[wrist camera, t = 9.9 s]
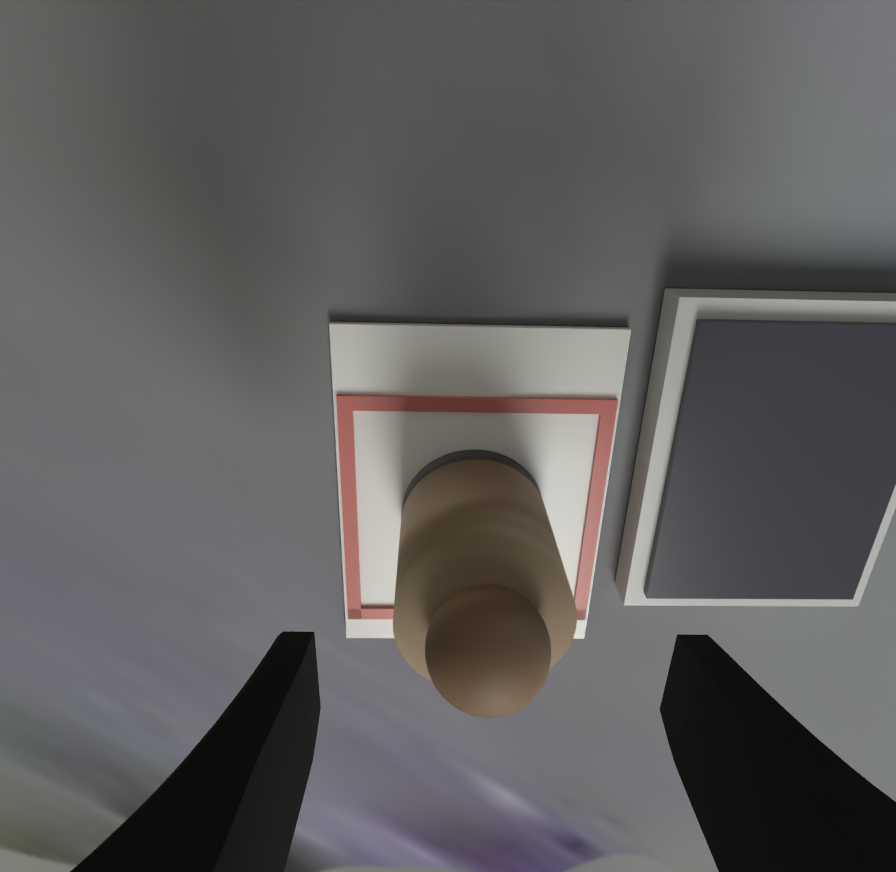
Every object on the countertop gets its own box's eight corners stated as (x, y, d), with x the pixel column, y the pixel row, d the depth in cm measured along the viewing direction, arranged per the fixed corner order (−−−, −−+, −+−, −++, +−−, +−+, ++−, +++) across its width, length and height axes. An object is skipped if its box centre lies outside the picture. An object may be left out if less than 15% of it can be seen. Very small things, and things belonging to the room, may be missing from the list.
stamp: (543, 444, 17) (604, 608, 11) (542, 565, 19) (595, 765, 13) (395, 454, 17) (375, 623, 11) (408, 574, 19) (396, 778, 13)
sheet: (629, 327, 16) (632, 331, 15) (583, 634, 20) (585, 641, 20) (330, 321, 15) (328, 325, 15) (347, 633, 20) (346, 640, 19)
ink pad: (941, 294, 16) (983, 305, 14) (838, 584, 19) (864, 613, 18) (665, 288, 15) (684, 299, 14) (614, 583, 19) (626, 612, 18)
